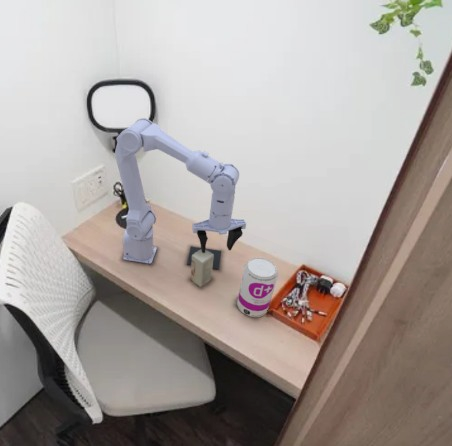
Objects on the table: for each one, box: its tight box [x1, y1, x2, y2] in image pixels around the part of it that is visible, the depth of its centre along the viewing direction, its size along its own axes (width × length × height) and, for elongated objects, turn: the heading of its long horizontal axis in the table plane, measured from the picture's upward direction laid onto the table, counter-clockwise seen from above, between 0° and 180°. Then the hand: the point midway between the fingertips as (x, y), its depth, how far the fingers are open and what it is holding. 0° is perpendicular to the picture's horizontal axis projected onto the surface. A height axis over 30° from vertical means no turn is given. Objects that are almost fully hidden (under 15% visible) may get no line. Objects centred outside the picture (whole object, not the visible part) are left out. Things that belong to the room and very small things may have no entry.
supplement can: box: [236, 257, 279, 318], centre depth 88 cm, size 8×8×15 cm
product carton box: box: [190, 249, 214, 288], centre depth 98 cm, size 5×4×10 cm
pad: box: [186, 246, 222, 271], centre depth 109 cm, size 10×9×1 cm
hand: (215, 249), depth 97 cm, fingers open, 7 cm apart
